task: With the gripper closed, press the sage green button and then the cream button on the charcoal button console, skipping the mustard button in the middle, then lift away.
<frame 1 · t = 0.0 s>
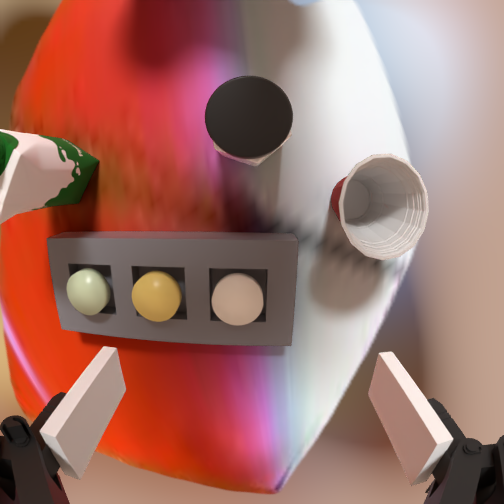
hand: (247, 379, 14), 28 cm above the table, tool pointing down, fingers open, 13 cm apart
sage button: (88, 291, 36), point 6 cm above the table, slide at 0.0 cm
plastic cup: (351, 198, 40), on the table
milk carton: (73, 171, 38), on the table
cream button: (237, 299, 36), point 6 cm above the table, slide at 0.0 cm
jar: (249, 133, 38), on the table
mustard button: (156, 296, 36), point 6 cm above the table, slide at 0.0 cm
console: (168, 280, 42), on the table
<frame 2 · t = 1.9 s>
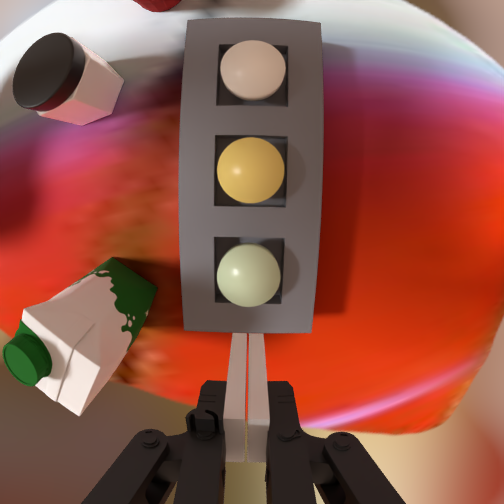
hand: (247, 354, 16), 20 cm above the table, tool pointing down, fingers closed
sage button: (248, 274, 30), point 6 cm above the table, slide at 0.0 cm
milk carton: (124, 292, 37), on the table
cream button: (252, 70, 25), point 6 cm above the table, slide at 0.0 cm
jar: (94, 93, 31), on the table
mustard button: (250, 170, 28), point 6 cm above the table, slide at 0.0 cm
console: (250, 171, 34), on the table
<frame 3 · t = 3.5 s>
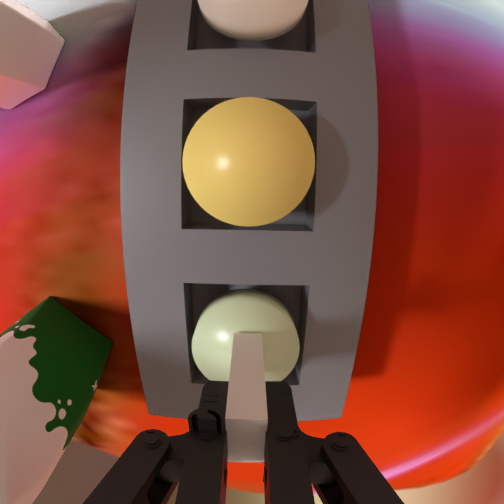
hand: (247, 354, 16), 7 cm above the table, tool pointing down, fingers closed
sage button: (245, 342, 17), point 5 cm above the table, slide at 0.7 cm, touching gripper
milk carton: (72, 344, 24), on the table
jar: (29, 64, 17), on the table
mustard button: (248, 161, 14), point 6 cm above the table, slide at 0.0 cm
console: (249, 166, 20), on the table
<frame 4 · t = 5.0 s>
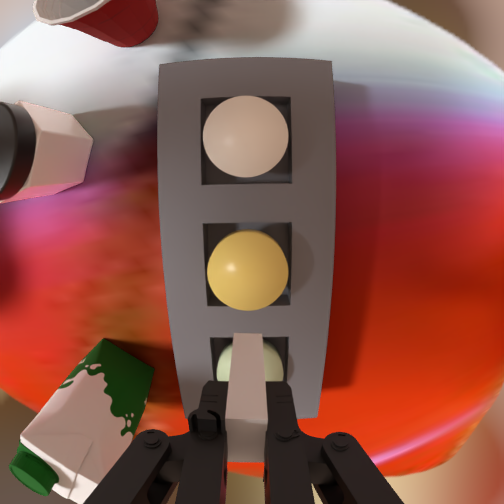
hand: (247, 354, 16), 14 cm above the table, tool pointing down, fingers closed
sage button: (250, 369, 27), point 5 cm above the table, slide at 1.0 cm
plastic cup: (133, 25, 24), on the table
milk carton: (121, 371, 33), on the table
cream button: (245, 137, 21), point 6 cm above the table, slide at 0.0 cm
jar: (62, 154, 27), on the table
mustard button: (247, 269, 24), point 6 cm above the table, slide at 0.0 cm
console: (248, 251, 30), on the table
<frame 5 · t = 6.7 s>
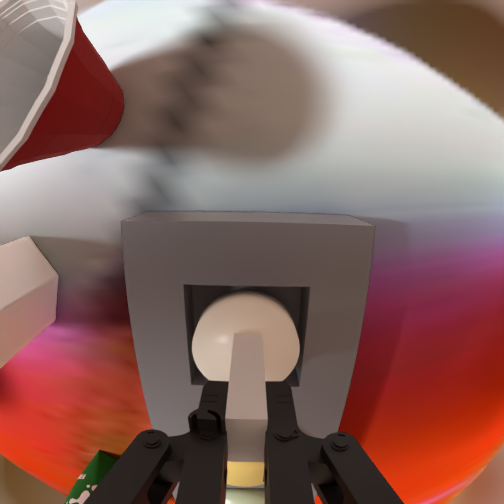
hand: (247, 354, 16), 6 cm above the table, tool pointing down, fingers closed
sage button: (244, 503, 22), point 5 cm above the table, slide at 1.0 cm
plastic cup: (92, 109, 19), on the table
milk carton: (119, 472, 28), on the table
cream button: (245, 343, 17), point 5 cm above the table, slide at 0.8 cm, touching gripper
jar: (27, 281, 22), on the table
mustard button: (244, 457, 19), point 6 cm above the table, slide at 0.0 cm
console: (245, 407, 25), on the table
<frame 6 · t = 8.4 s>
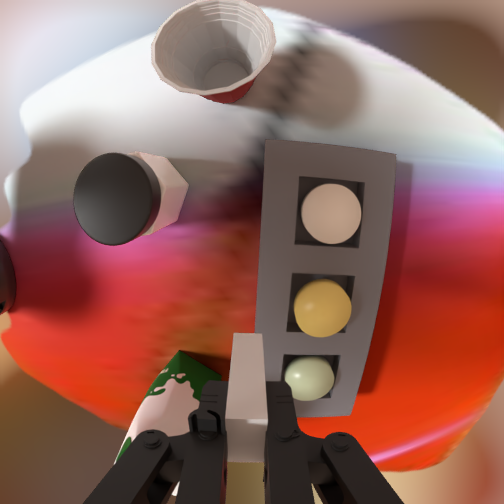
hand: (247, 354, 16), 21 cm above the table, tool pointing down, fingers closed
sage button: (308, 378, 35), point 5 cm above the table, slide at 1.0 cm
plastic cup: (226, 80, 32), on the table
milk carton: (189, 377, 42), on the table
cream button: (330, 213, 30), point 5 cm above the table, slide at 1.0 cm
jar: (155, 192, 36), on the table
mustard button: (322, 308, 32), point 6 cm above the table, slide at 0.0 cm
console: (313, 289, 38), on the table
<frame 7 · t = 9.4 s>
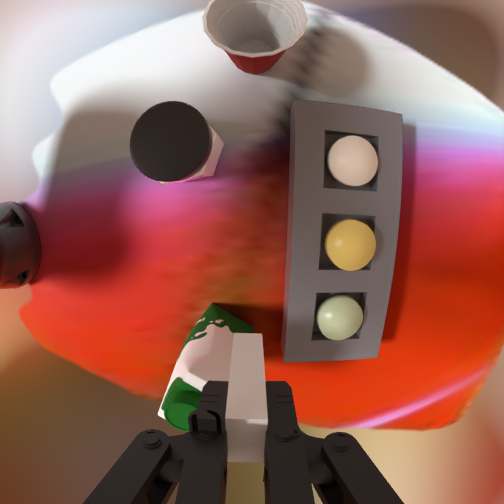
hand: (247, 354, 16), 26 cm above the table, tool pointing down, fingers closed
sage button: (339, 317, 39), point 5 cm above the table, slide at 1.0 cm
plastic cup: (253, 55, 36), on the table
milk carton: (221, 331, 45), on the table
cream button: (352, 161, 34), point 5 cm above the table, slide at 1.0 cm
jar: (191, 151, 39), on the table
mustard button: (350, 244, 36), point 6 cm above the table, slide at 0.0 cm
console: (337, 235, 41), on the table
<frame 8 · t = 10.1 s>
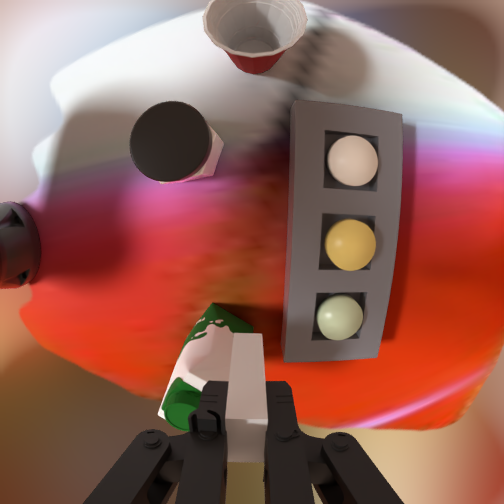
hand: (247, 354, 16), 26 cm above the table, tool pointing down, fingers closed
sage button: (339, 317, 39), point 5 cm above the table, slide at 1.0 cm
plastic cup: (253, 55, 36), on the table
milk carton: (221, 331, 45), on the table
cream button: (352, 160, 34), point 5 cm above the table, slide at 1.0 cm
jar: (191, 151, 39), on the table
mustard button: (350, 244, 36), point 6 cm above the table, slide at 0.0 cm
console: (337, 235, 41), on the table
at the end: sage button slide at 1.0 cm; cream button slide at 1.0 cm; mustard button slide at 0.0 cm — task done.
